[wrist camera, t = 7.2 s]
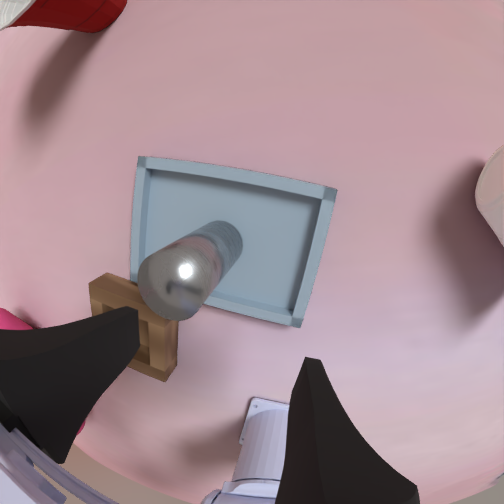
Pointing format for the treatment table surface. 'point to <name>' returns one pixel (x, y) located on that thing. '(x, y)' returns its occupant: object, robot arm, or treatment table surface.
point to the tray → (246, 222)
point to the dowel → (188, 270)
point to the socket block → (150, 325)
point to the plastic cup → (61, 13)
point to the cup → (492, 193)
